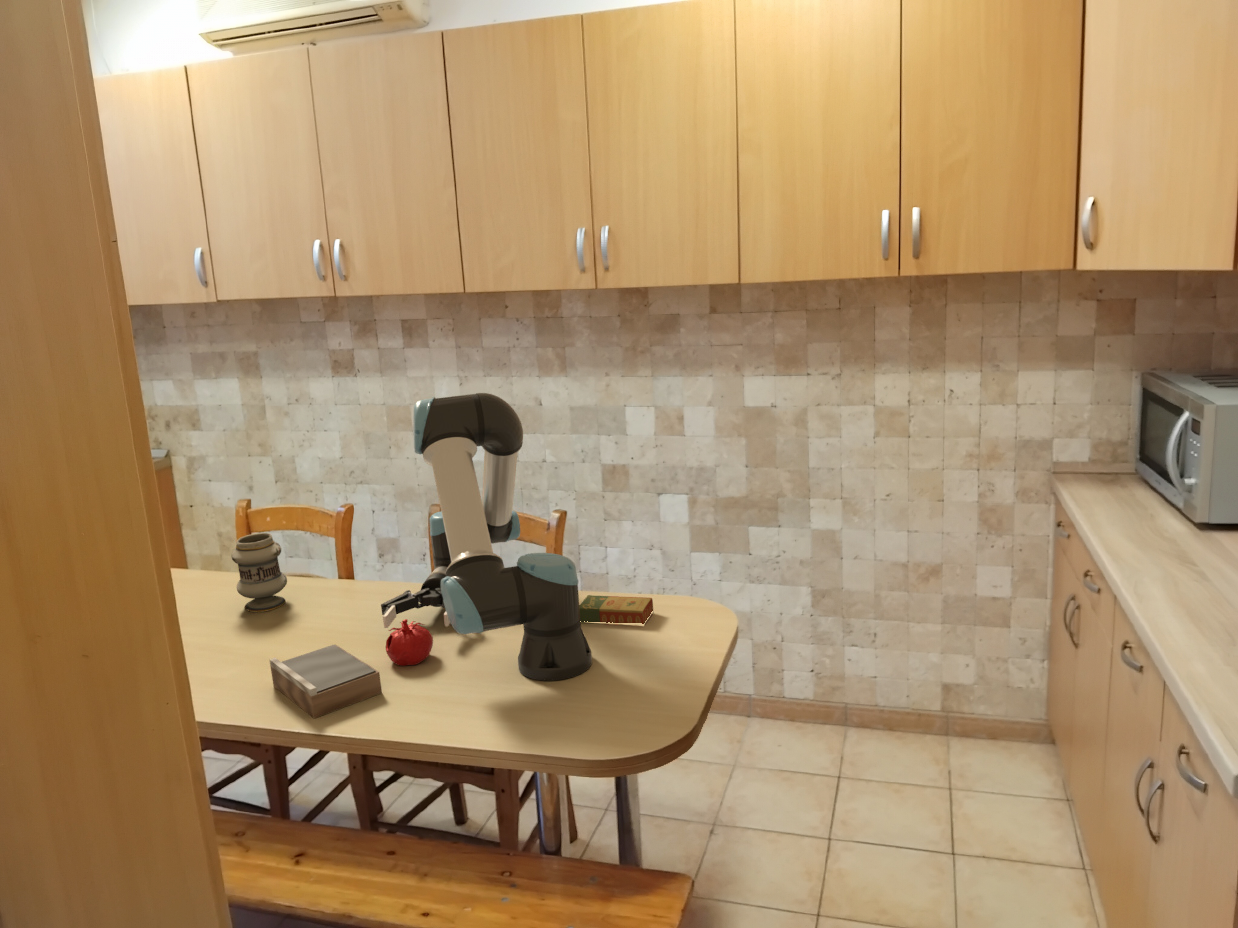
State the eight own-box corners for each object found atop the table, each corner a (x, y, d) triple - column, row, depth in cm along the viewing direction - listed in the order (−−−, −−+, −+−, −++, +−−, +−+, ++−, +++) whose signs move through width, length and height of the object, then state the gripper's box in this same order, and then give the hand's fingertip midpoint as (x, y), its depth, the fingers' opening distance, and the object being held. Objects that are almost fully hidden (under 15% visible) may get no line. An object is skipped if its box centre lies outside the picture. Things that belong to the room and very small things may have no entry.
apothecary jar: (230, 608, 239) (219, 540, 235) (272, 593, 248) (262, 527, 244) (257, 617, 232) (246, 547, 228) (299, 601, 241) (289, 534, 237)
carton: (644, 628, 211) (642, 610, 210) (576, 624, 216) (575, 606, 215) (653, 613, 219) (652, 596, 218) (588, 610, 224) (587, 593, 223)
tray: (381, 692, 187) (378, 665, 186) (314, 718, 178) (310, 689, 177) (337, 663, 202) (334, 638, 200) (273, 686, 193) (269, 659, 192)
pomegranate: (443, 651, 205) (438, 611, 203) (418, 671, 196) (413, 629, 194) (403, 647, 208) (399, 608, 206) (378, 667, 199) (372, 625, 197)
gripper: (492, 600, 228) (473, 635, 207) (391, 603, 230) (362, 638, 209) (489, 570, 226) (469, 603, 205) (387, 574, 228) (358, 606, 207)
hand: (415, 621), depth 207 cm, fingers open, 13 cm apart
